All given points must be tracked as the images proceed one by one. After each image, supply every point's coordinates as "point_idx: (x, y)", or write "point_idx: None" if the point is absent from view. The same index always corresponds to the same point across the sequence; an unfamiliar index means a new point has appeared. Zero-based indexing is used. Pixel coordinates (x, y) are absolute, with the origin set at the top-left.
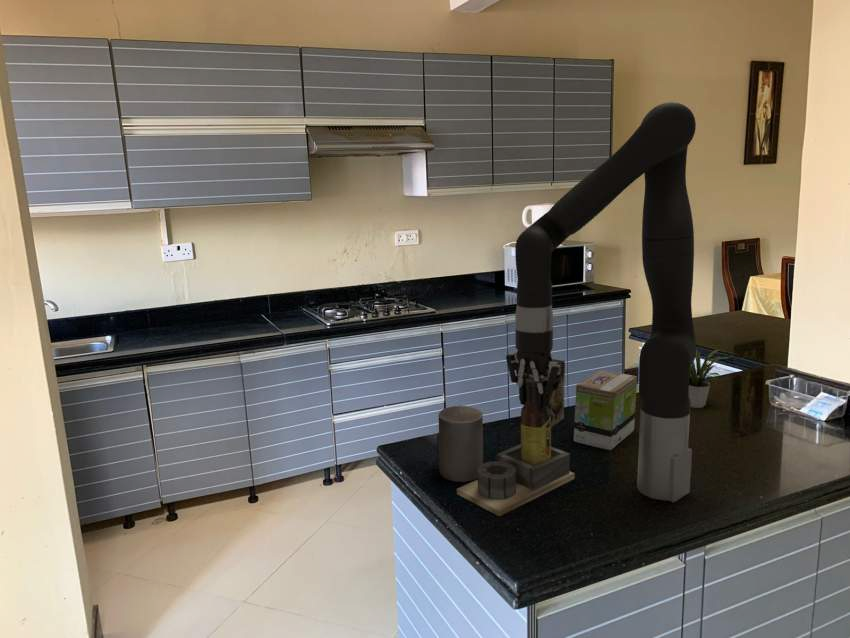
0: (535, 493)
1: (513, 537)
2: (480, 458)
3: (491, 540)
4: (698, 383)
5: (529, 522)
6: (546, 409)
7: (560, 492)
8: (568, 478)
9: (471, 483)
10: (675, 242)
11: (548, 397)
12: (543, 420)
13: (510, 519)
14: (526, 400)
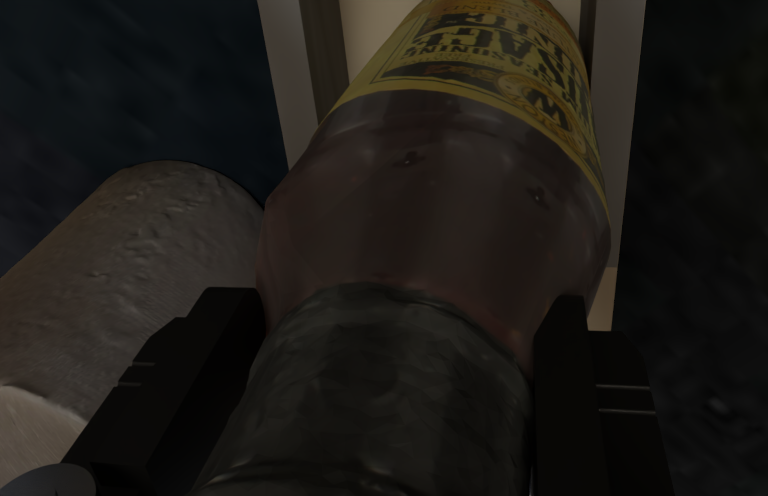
0: (623, 209)
1: (740, 446)
2: (246, 277)
3: (685, 492)
4: None
5: (729, 351)
6: (576, 294)
7: (688, 49)
8: None
9: None
10: None
11: (664, 474)
12: (592, 302)
13: (649, 378)
14: (253, 360)
